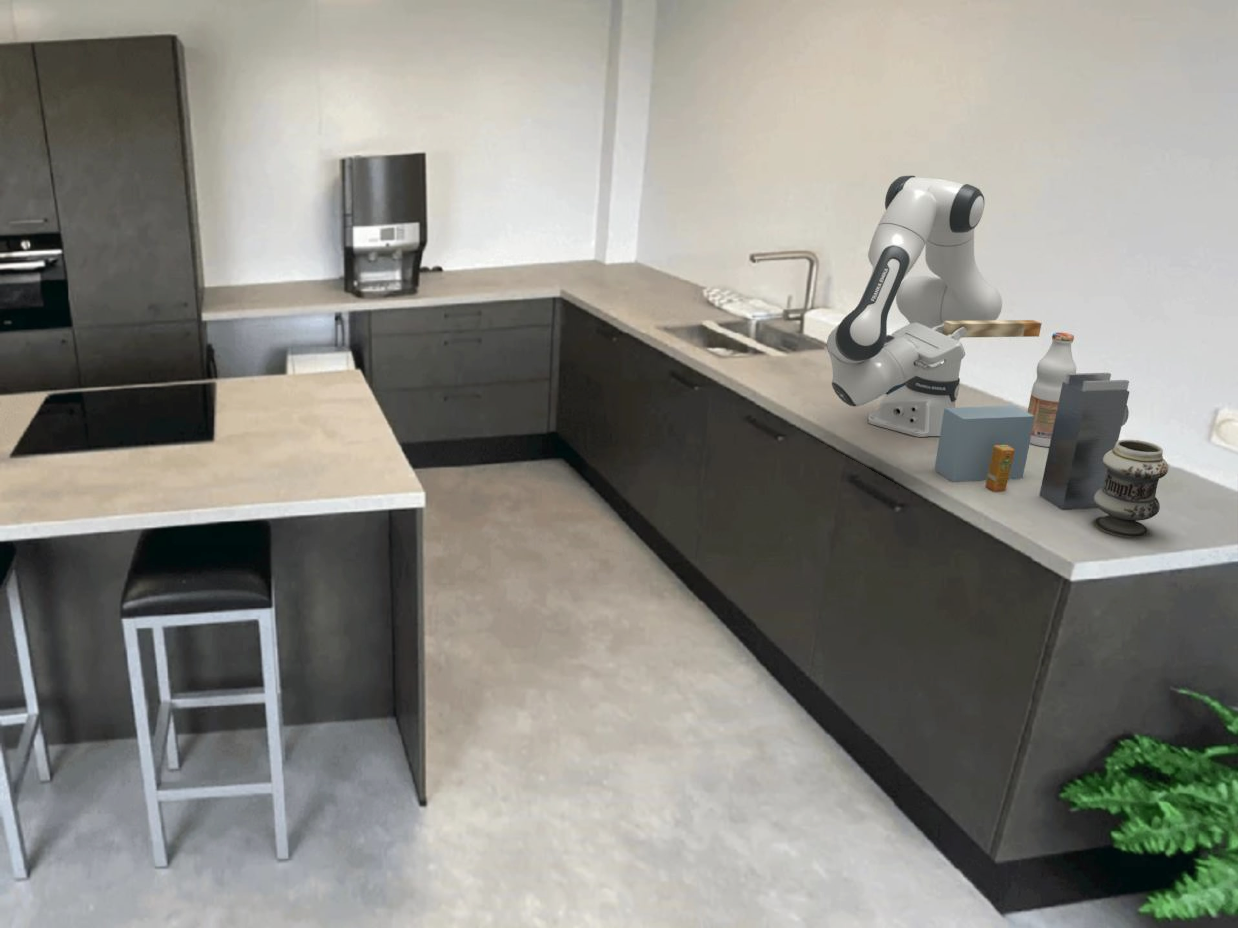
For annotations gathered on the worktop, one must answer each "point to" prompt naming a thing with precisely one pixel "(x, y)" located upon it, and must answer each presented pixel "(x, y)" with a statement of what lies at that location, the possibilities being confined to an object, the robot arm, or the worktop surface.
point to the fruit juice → (1050, 387)
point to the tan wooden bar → (995, 328)
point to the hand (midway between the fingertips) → (959, 327)
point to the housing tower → (1083, 438)
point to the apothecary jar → (1130, 487)
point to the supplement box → (1000, 467)
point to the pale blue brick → (981, 440)
